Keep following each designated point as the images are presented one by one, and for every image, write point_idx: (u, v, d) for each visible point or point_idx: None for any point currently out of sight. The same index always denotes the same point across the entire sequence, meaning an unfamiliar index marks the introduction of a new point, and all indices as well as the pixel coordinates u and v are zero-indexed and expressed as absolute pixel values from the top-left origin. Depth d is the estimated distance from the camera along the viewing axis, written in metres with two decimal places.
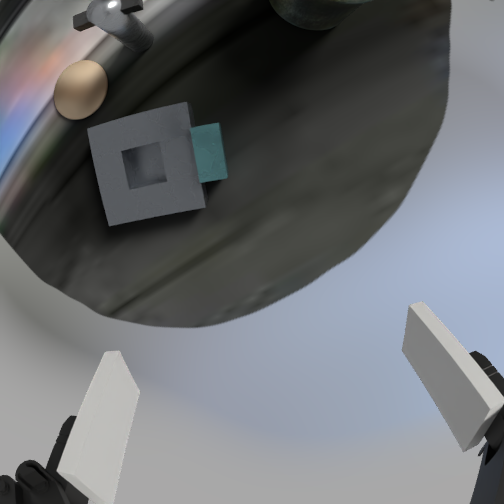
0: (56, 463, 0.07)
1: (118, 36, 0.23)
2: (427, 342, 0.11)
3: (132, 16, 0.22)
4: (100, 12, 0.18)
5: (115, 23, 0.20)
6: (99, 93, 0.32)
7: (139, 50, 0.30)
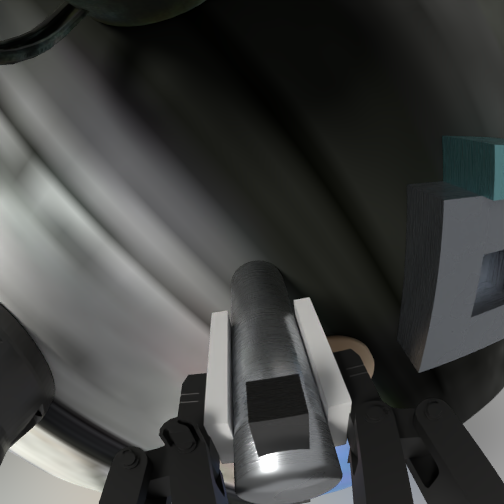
0: None
1: None
2: (302, 336, 0.13)
3: (274, 366, 0.10)
4: (303, 487, 0.07)
5: (328, 430, 0.08)
6: (346, 349, 0.21)
7: None
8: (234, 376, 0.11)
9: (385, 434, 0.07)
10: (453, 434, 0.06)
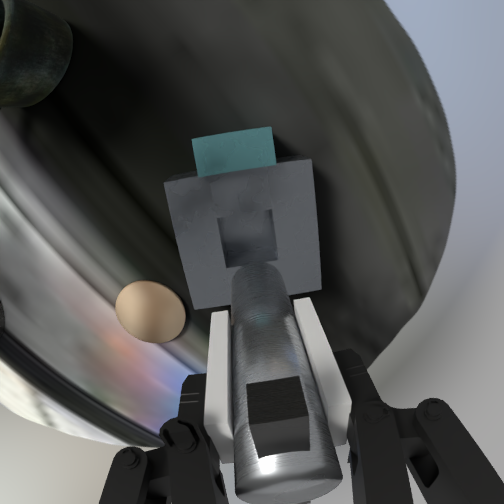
0: None
1: None
2: (302, 336, 0.13)
3: (274, 367, 0.10)
4: (303, 489, 0.07)
5: (329, 432, 0.08)
6: (155, 290, 0.32)
7: None
8: (234, 377, 0.11)
9: (385, 434, 0.07)
10: (453, 434, 0.06)
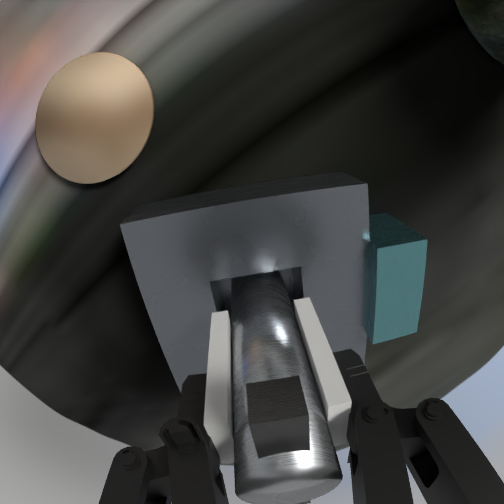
0: None
1: None
2: (302, 336, 0.13)
3: (274, 367, 0.10)
4: (303, 488, 0.07)
5: (328, 431, 0.08)
6: (136, 129, 0.16)
7: None
8: (234, 377, 0.11)
9: (385, 434, 0.07)
10: (453, 434, 0.06)
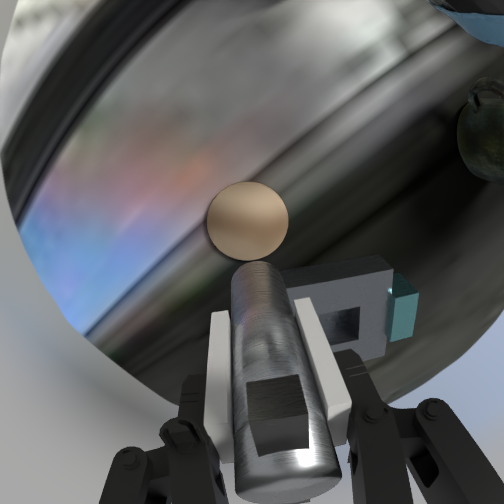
0: None
1: None
2: (302, 336, 0.13)
3: (274, 366, 0.10)
4: (303, 487, 0.07)
5: (328, 430, 0.08)
6: (278, 233, 0.31)
7: None
8: (234, 376, 0.11)
9: (385, 434, 0.07)
10: (453, 434, 0.06)
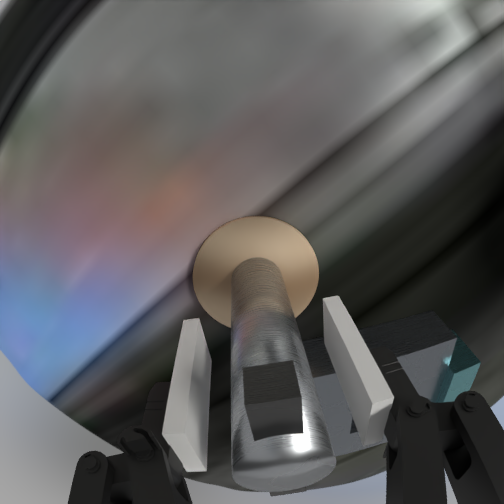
0: (151, 430, 0.09)
1: None
2: (334, 334, 0.13)
3: (271, 356, 0.11)
4: (298, 473, 0.08)
5: (323, 417, 0.09)
6: (303, 294, 0.20)
7: None
8: (233, 366, 0.12)
9: (425, 429, 0.07)
10: (487, 426, 0.06)
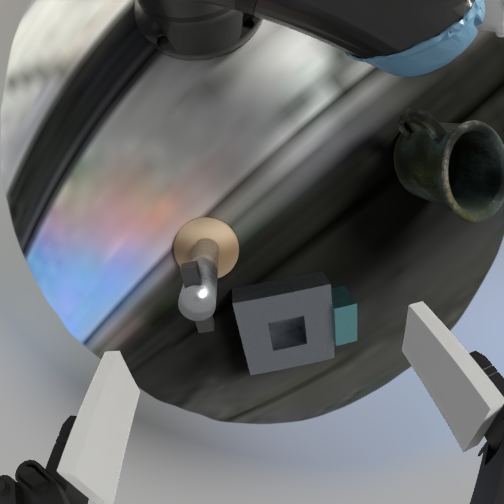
0: (56, 463, 0.07)
1: None
2: (427, 342, 0.11)
3: None
4: (202, 306, 0.26)
5: (213, 287, 0.27)
6: (231, 257, 0.39)
7: (218, 251, 0.37)
8: None
9: None
10: None
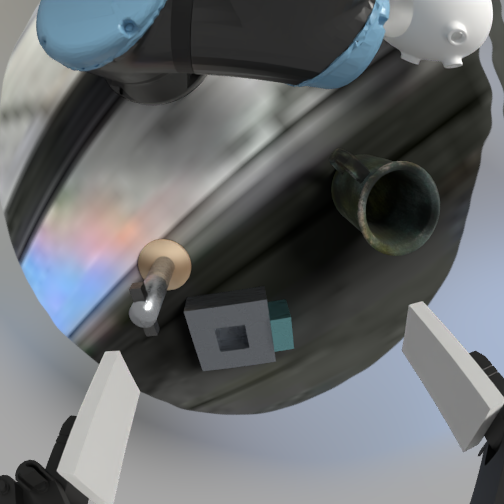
0: (56, 464, 0.07)
1: (164, 294, 0.38)
2: (427, 342, 0.11)
3: (147, 286, 0.36)
4: (146, 317, 0.33)
5: (156, 302, 0.34)
6: (185, 272, 0.45)
7: (173, 268, 0.44)
8: None
9: None
10: None
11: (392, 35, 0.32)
